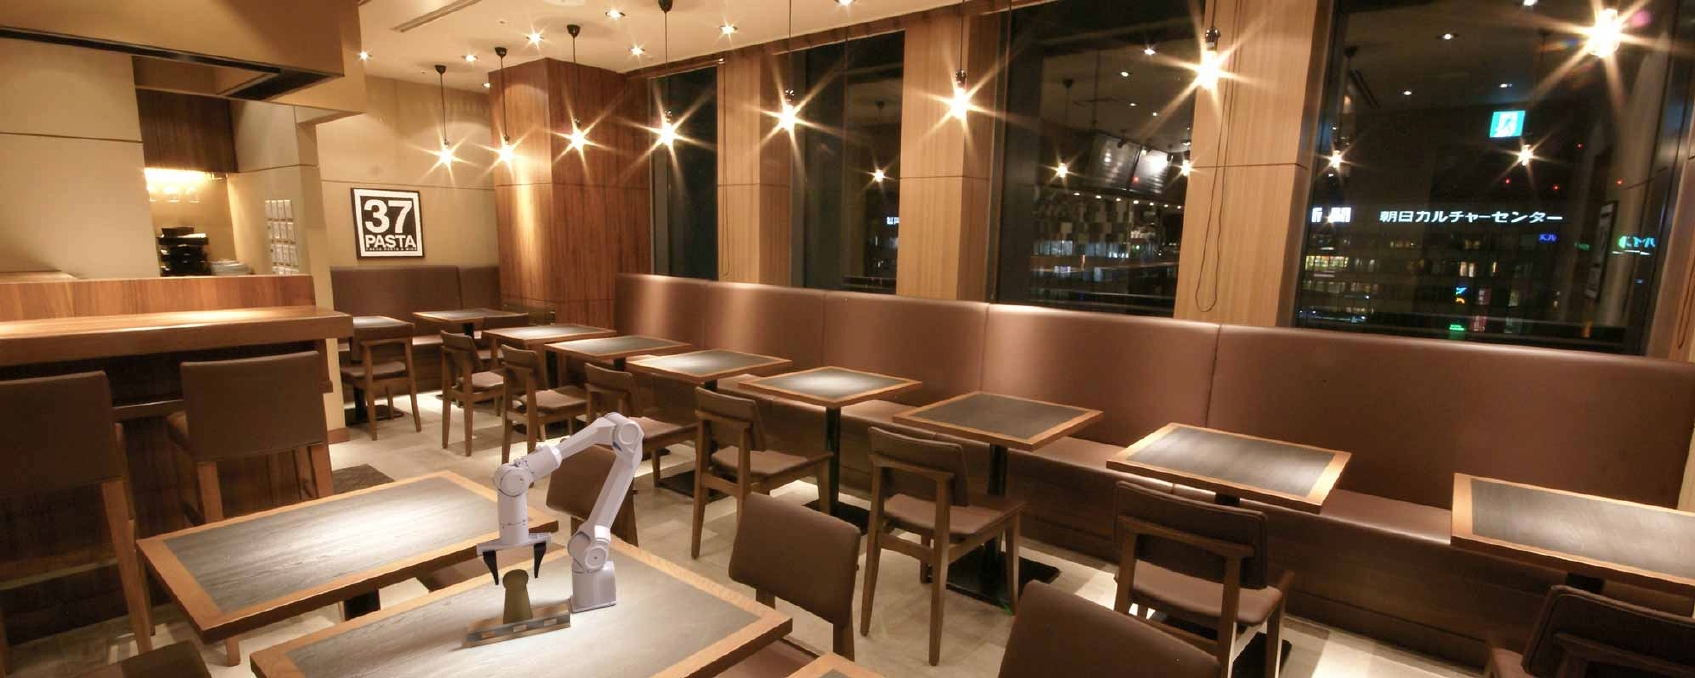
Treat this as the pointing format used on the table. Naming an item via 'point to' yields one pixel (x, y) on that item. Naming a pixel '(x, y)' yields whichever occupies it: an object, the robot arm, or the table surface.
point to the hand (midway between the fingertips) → (516, 579)
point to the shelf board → (517, 626)
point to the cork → (516, 597)
